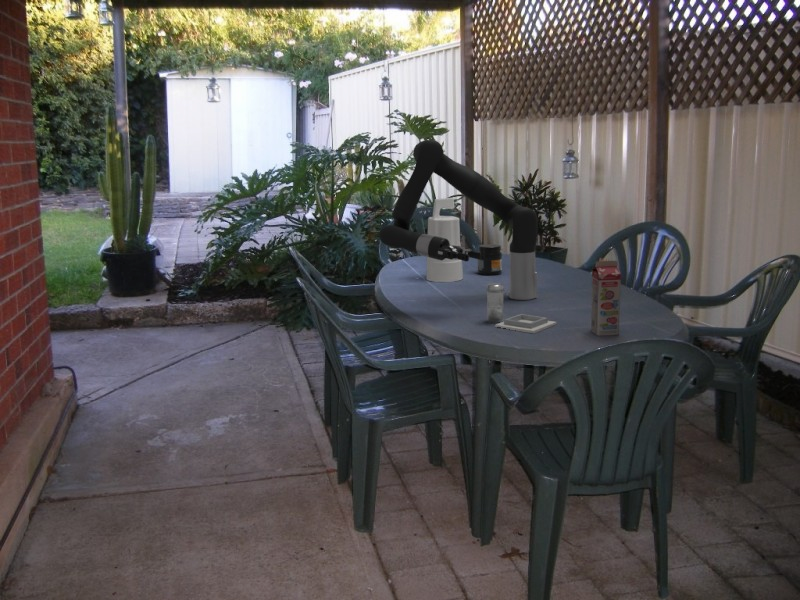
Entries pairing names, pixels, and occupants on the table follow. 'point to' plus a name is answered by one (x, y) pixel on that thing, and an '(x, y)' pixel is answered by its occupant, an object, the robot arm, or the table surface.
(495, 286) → the grey canister
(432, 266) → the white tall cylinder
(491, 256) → the supplement container
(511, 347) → the table surface
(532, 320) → the duct flange
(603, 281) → the juice carton
